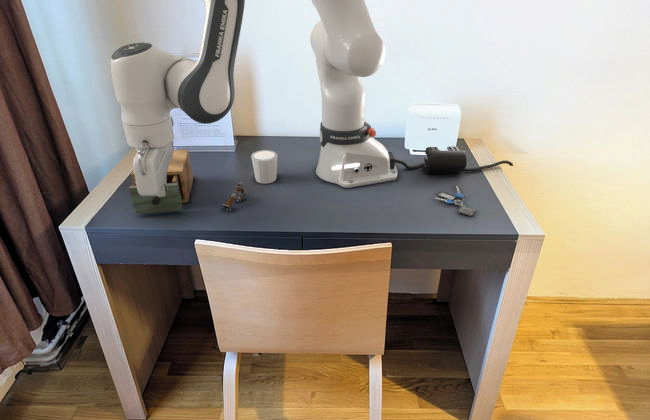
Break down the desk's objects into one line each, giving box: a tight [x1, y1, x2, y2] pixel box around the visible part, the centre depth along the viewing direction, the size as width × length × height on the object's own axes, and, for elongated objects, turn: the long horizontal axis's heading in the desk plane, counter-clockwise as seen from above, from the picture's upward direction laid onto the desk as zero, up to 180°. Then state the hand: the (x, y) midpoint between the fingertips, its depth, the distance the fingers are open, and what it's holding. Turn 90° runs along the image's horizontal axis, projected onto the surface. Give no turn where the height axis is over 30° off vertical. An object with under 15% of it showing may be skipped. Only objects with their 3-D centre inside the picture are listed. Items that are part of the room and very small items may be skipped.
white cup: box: [250, 149, 278, 184], centre depth 114 cm, size 7×7×7 cm
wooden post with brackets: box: [221, 181, 247, 212], centre depth 105 cm, size 2×8×4 cm, turn 155°
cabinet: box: [130, 148, 194, 204], centre depth 108 cm, size 13×12×9 cm
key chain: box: [434, 185, 476, 217], centre depth 106 cm, size 14×8×1 cm, turn 6°
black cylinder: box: [423, 146, 468, 175], centre depth 118 cm, size 10×7×7 cm
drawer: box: [128, 174, 184, 215], centre depth 103 cm, size 13×10×7 cm
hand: (162, 193), depth 92 cm, fingers closed
